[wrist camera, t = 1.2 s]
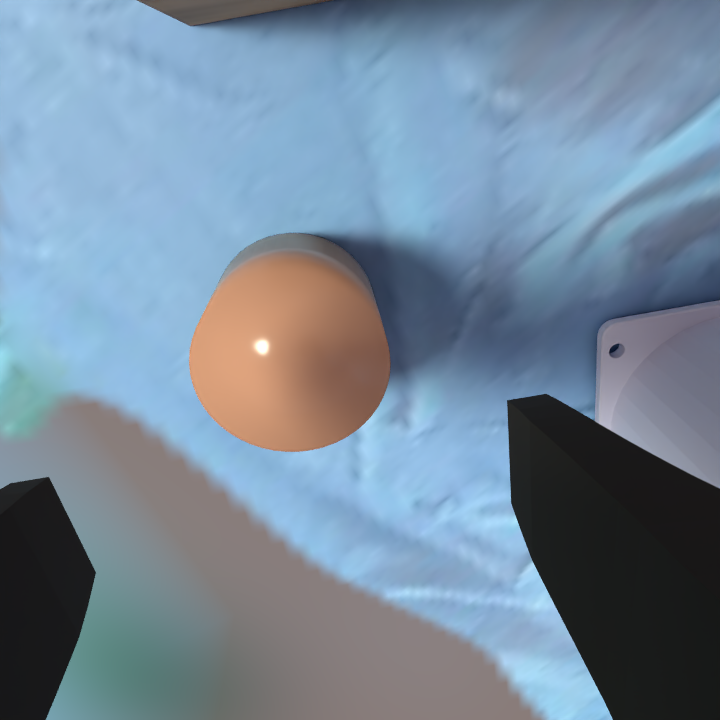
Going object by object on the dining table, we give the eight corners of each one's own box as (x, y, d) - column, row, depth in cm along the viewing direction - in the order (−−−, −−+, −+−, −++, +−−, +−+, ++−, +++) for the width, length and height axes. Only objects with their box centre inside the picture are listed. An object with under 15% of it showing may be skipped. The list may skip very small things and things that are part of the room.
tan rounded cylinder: (385, 368, 19) (402, 434, 15) (237, 393, 19) (220, 465, 15) (362, 218, 17) (375, 255, 13) (195, 248, 17) (162, 292, 13)
